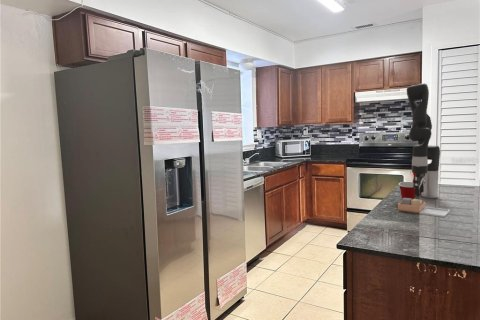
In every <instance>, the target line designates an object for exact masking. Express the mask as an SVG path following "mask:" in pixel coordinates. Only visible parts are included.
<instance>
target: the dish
mask: <svg viewBox="0 0 480 320" xmlns="http://www.w3.org/2000/svg"><path fill="white" fill-rule="evenodd" d="M425 207H426V201H422V204H421V205H420V206H413V205H405V204H402V200H401V201H400V202H398V203H397V211H400V212H401V211H402V212H408V213H415V214H420V211H422V210H423V209H424V208H425Z"/></svg>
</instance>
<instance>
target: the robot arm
mask: <svg viewBox="0 0 480 320" xmlns="http://www.w3.org/2000/svg"><path fill="white" fill-rule="evenodd" d="M429 93H430V92H429V87H428V84H427V83H419V84H413V85H409V86H408V87H407V88H406V95H407V100H408V102H409V106H410V107H409V108H410V110H411V113H412V122H411V123H412V124H411V128H410V130H409V133H408V137H409V140H410V141H413V142H417V145H414V146H413V147H412V158H411V168H412V169H411V174H413V173H415V174H416V177H414V176H413V178H414V184H413V187H414V188H415V196H420V195H421V197H422V198H427V199H428V198H430V199H436V198H438V197H439V196H438V195H439V169H440V157H441V148H440V146H439V145H435V144H434V145H429V143H430V140H431V138H432V134H433V133H432V129H433V124H432V118H431V116H430V115H429V114H428V104H429V97H430V94H429ZM417 101H420V102H419V104H418V103H417ZM429 161H431V162H430V163H428V162H429ZM416 185H417V186H416ZM420 192H421V193H420Z"/></svg>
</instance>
